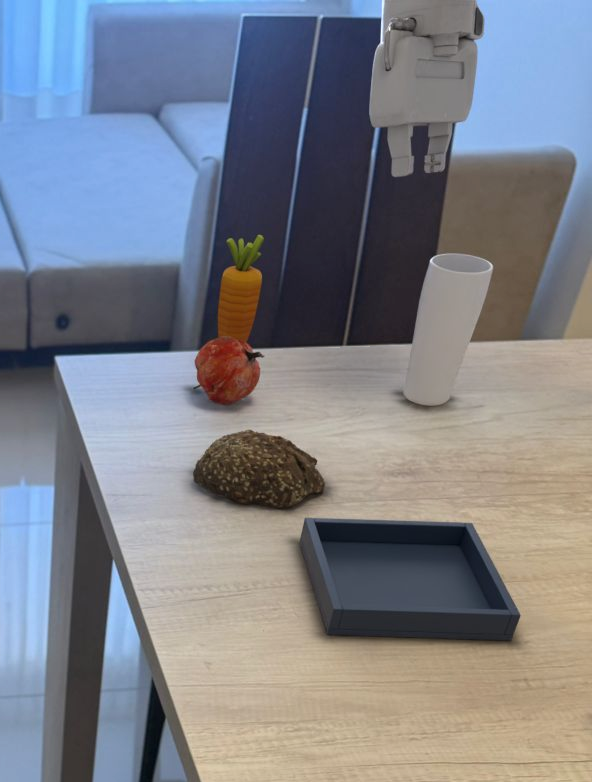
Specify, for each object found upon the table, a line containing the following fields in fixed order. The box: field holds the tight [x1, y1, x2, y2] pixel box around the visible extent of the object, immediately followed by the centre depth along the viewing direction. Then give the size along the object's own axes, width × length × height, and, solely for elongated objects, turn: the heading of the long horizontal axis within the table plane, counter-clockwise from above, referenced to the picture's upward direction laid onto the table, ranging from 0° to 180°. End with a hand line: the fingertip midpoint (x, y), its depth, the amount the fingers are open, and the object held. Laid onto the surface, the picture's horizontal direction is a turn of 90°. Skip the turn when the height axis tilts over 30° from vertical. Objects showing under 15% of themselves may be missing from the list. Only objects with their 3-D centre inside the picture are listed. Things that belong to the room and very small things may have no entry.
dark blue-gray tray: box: [299, 517, 521, 642], centre depth 103 cm, size 16×16×3 cm
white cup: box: [402, 253, 494, 407], centre depth 130 cm, size 7×7×15 cm
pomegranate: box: [193, 336, 265, 406], centre depth 132 cm, size 7×7×10 cm
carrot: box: [217, 234, 265, 343], centre depth 136 cm, size 5×5×15 cm
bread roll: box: [192, 429, 326, 509], centre depth 117 cm, size 13×12×5 cm
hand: (418, 174), depth 123 cm, fingers open, 8 cm apart
